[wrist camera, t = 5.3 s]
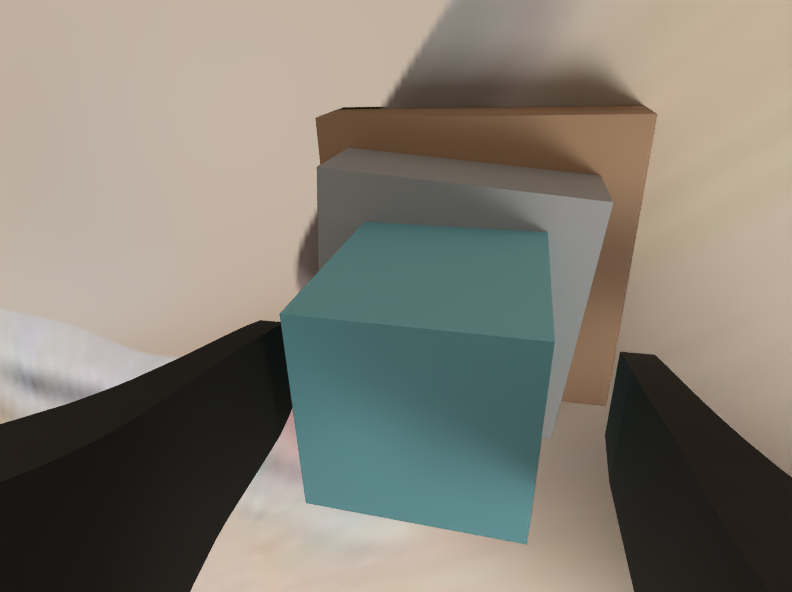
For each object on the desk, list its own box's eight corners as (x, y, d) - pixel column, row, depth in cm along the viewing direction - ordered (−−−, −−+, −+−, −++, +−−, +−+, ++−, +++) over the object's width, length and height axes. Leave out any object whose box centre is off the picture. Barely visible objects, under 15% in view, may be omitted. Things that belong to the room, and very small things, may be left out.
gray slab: (548, 387, 17) (551, 439, 15) (345, 349, 18) (320, 391, 16) (600, 175, 14) (613, 202, 11) (348, 147, 15) (316, 166, 13)
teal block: (529, 387, 14) (527, 544, 10) (371, 368, 15) (306, 502, 11) (547, 232, 12) (555, 342, 8) (364, 221, 13) (279, 314, 9)
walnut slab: (597, 363, 19) (605, 405, 17) (362, 341, 21) (342, 377, 19) (639, 102, 15) (656, 114, 13) (343, 107, 17) (315, 117, 15)
